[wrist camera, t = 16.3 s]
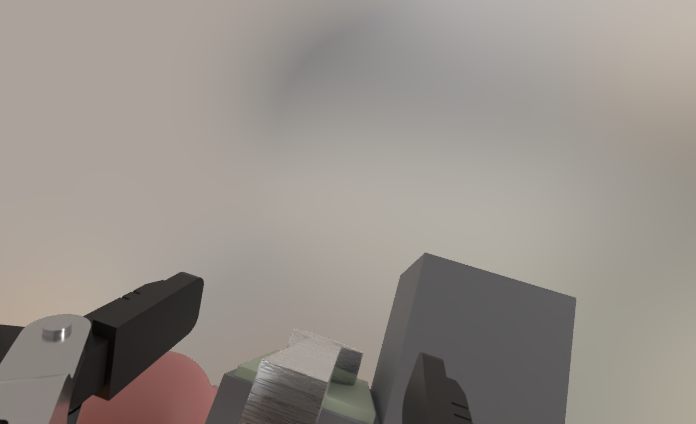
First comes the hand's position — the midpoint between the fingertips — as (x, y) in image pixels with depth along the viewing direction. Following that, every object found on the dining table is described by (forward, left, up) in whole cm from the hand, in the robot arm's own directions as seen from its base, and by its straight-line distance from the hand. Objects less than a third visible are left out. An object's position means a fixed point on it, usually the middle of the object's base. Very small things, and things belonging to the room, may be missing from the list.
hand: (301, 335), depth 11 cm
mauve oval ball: (+18, -36, -26) cm, 48 cm away
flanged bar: (0, -12, -4) cm, 12 cm away
